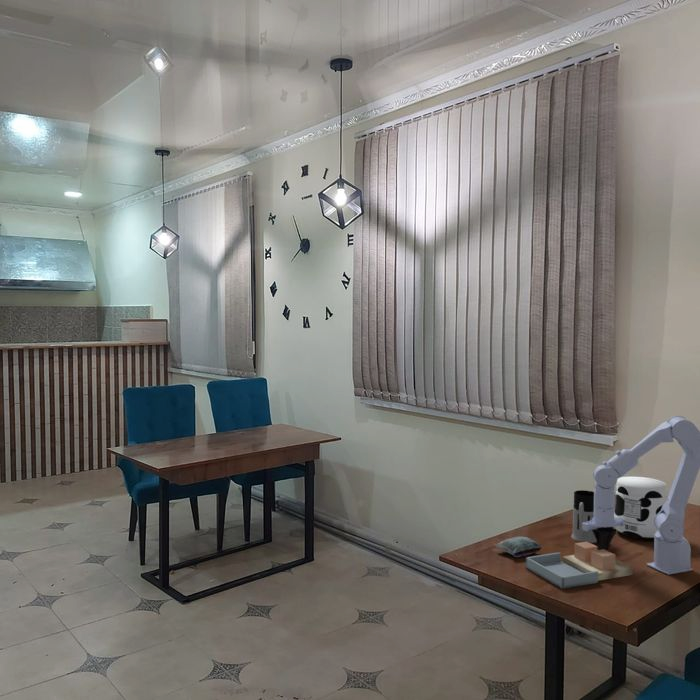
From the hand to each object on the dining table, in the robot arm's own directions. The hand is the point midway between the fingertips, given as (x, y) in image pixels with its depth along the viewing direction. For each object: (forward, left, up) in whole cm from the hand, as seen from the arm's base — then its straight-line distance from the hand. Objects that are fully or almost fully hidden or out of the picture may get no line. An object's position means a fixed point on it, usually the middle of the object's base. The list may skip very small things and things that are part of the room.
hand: (603, 551), depth 191 cm
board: (+5, +4, -3) cm, 7 cm away
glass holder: (-8, -17, -3) cm, 20 cm away
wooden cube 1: (+6, 0, -1) cm, 7 cm away
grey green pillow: (+19, -15, -3) cm, 25 cm away
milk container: (-30, -15, -3) cm, 34 cm away
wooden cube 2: (+6, +7, -1) cm, 10 cm away
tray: (+18, +4, -3) cm, 19 cm away
